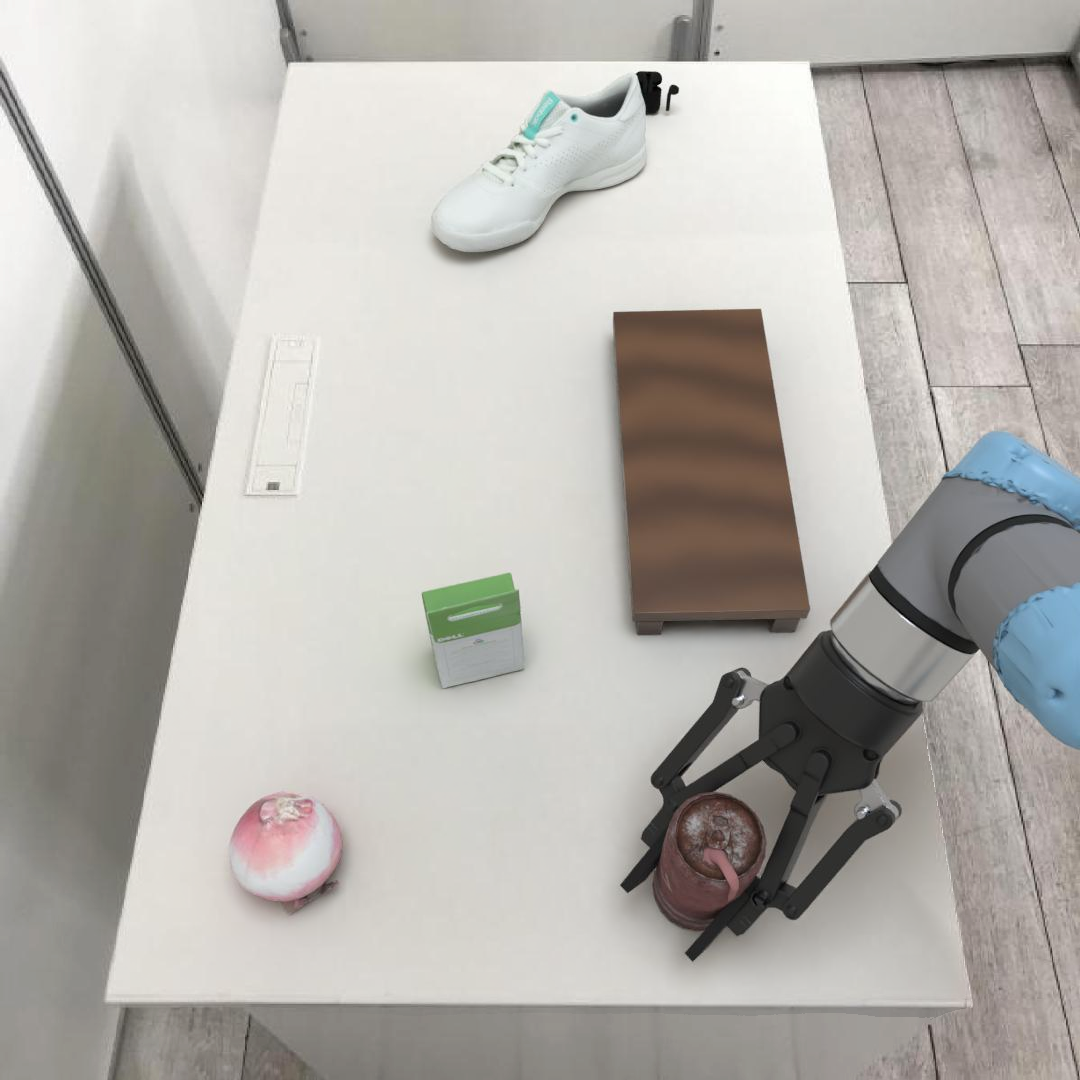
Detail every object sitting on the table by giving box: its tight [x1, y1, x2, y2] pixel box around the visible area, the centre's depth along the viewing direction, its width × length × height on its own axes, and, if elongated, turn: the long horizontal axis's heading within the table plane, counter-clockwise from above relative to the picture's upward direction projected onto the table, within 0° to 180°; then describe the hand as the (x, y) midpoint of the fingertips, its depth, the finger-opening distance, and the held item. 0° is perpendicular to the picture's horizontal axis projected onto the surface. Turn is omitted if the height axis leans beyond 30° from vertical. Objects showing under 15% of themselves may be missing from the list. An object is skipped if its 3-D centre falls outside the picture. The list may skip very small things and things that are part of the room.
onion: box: [228, 791, 343, 915], centre depth 76 cm, size 8×8×7 cm
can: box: [652, 791, 768, 932], centre depth 71 cm, size 6×6×14 cm
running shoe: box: [430, 72, 647, 253], centre depth 110 cm, size 10×27×12 cm, turn 129°
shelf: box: [612, 308, 811, 636], centre depth 94 cm, size 32×14×4 cm, turn 1°
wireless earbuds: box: [635, 70, 680, 114], centre depth 120 cm, size 7×2×5 cm, turn 87°
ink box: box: [421, 571, 526, 689], centre depth 81 cm, size 7×4×13 cm, turn 104°
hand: (664, 915), depth 73 cm, fingers open, 5 cm apart
